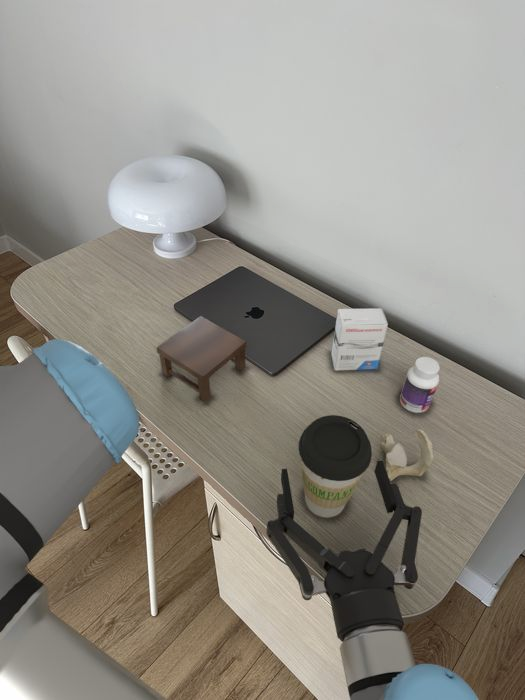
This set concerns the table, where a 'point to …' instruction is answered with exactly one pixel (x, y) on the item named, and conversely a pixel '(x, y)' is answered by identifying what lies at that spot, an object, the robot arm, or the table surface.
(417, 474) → the bone
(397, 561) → the table surface
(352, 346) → the ink box
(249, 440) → the table surface
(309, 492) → the coffee cup
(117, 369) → the table surface
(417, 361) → the pill bottle
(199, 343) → the small brown wooden table
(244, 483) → the table surface
